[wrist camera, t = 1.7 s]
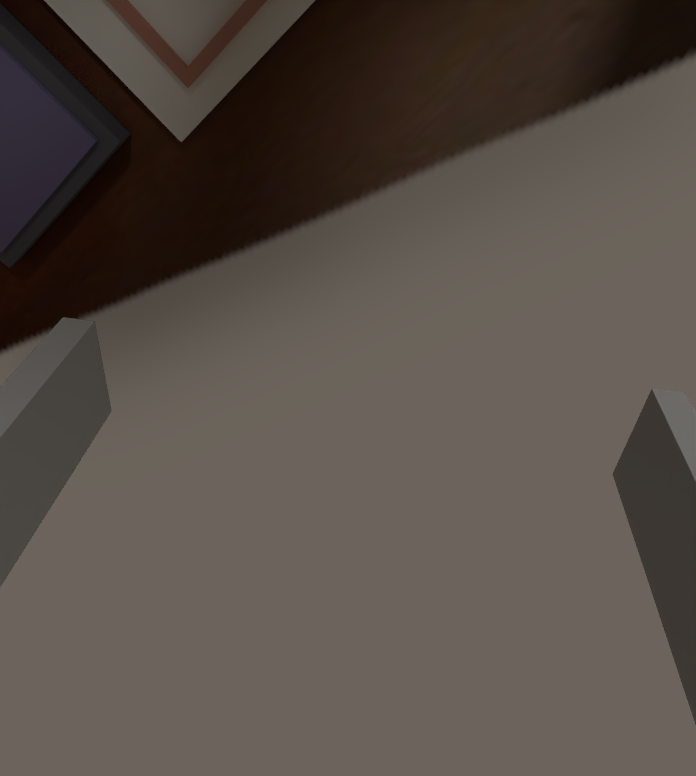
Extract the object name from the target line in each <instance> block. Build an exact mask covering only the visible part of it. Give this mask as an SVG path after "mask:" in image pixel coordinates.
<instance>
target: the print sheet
mask: <svg viewBox="0 0 696 776" xmlns="http://www.w3.org/2000/svg"><path fill="white" fill-rule="evenodd" d="M44 1H45V2H46V3H47V4H48V5H49V6H50V7H51V8H52V9H53V10H54V11H55V12H56V13H57V14H58V15H59V16H60V17H61V18H62V19H63V20H64V22H65V23H66V24H67V25H68V26H69V27H70V28H71V29H72V30H73V31H74V32H75V33H76V34H77V35H78V36H79V37H80V38H81V39H82V40H83V41H84V42H85V43H86V44H87V45H88V46H89V47H90V48H91V49H92V51H93V52H94V53H95V54H96V55H97V56H98V57H99V58H100V59H101V60H102V61H103V62H104V63H105V64H106V65H107V66H108V67H109V68H110V69H111V70H112V71H113V72H114V73H115V74H116V75H117V76H118V77H119V79H120V80H121V81H122V82H123V83H124V84H125V85H126V86H127V87H128V88H129V89H130V90H131V91H132V92H133V93H134V94H135V95H136V96H137V97H138V98H139V99H140V100H141V101H142V102H143V103H144V104H145V105H146V106H147V108H148V109H149V110H150V111H151V112H152V113H153V114H154V115H155V116H156V117H157V118H158V119H159V120H160V121H161V122H162V123H163V124H164V125H165V126H166V127H167V128H168V129H169V130H170V131H171V132H172V133H173V134H174V136H175V137H176V138H177V139H178V140H179V141H180V142H182V141H183V140H184V139H185V138H186V137H187V136H188V135H189V134H190V133H191V132H192V131H193V130H194V129H195V128H196V127H197V125H198V124H199V123H200V122H201V121H202V120H203V119H204V118H205V117H206V116H207V115H208V114H209V113H210V112H211V111H212V110H213V109H214V107H215V106H216V105H217V104H218V103H219V102H220V101H221V100H222V99H223V98H224V97H225V96H226V95H227V94H228V93H229V92H230V91H231V89H232V88H233V87H234V86H235V85H236V84H237V83H238V82H239V81H240V80H241V79H242V78H243V77H244V76H245V75H246V74H247V72H248V71H249V70H250V69H251V68H252V67H253V66H254V65H255V64H256V63H257V62H258V61H259V60H260V59H261V58H262V57H263V56H264V54H265V53H266V52H267V51H268V50H269V49H270V48H271V47H272V46H273V45H274V44H275V43H276V42H277V41H278V40H279V39H280V37H281V36H282V35H283V34H284V33H285V32H286V31H287V30H288V29H289V28H290V27H291V26H292V25H293V24H294V23H295V22H296V21H297V19H298V18H299V17H300V16H301V15H302V14H303V13H304V12H305V11H306V10H307V9H308V8H309V7H310V6H311V5H312V4H313V2H314V1H315V0H44Z"/></svg>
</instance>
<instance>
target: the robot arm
mask: <svg viewBox="0 0 696 776" xmlns="http://www.w3.org/2000/svg"><path fill="white" fill-rule="evenodd" d="M110 412H111V406H110V401H109V396H108V390H107V385H106V380H105V374H104V369H103V363H102V358H101V353H100V347H99V342H98V337H97V332H96V326H95V321H89V320H81V319H73V318H65V317H63V318H62V319H61V320H60V321H59V322H58V324H57V325H56V326H55V327H54V328H53V329H52V330H51V331H50V332H49V334H48V335H47V336H46V337H45V338H44V339H43V340H42V341H41V342H40V344H39V345H38V346H37V347H36V348H35V349H34V350H33V351H32V353H31V354H30V355H29V356H28V357H27V358H26V359H25V360H24V362H23V363H22V364H21V365H20V366H19V367H18V368H17V369H16V371H14V373H13V374H12V375H11V376H10V377H9V378H8V379H7V380H6V382H5V383H4V384H3V385H2V386H1V387H0V586H1V585H2V583H3V582H4V580H5V579H6V577H7V575H8V574H9V572H10V571H11V569H12V568H13V566H14V564H15V563H16V561H17V560H18V558H19V556H20V555H21V553H22V552H23V550H24V548H25V547H26V545H27V543H28V542H29V541H30V539H31V537H32V536H33V534H34V533H35V531H36V530H37V528H38V526H39V524H40V523H41V522H42V520H43V518H44V517H45V515H46V514H47V512H48V511H49V509H50V507H51V506H52V504H53V503H54V501H55V499H56V498H57V496H58V495H59V493H60V492H61V490H62V488H63V487H64V485H65V484H66V482H67V480H68V479H69V477H70V476H71V474H72V473H73V471H74V469H75V468H76V466H77V465H78V463H79V461H80V460H81V458H82V457H83V455H84V454H85V452H86V450H87V449H88V447H89V446H90V444H91V442H92V441H93V439H94V437H95V436H96V435H97V433H98V431H99V430H100V428H101V427H102V425H103V423H104V422H105V420H106V419H107V417H108V416H109V414H110ZM613 476H614V480H615V482H616V486H617V488H618V492H619V494H620V498H621V501H622V503H623V506H624V510H625V513H626V515H627V519H628V522H629V525H630V528H631V531H632V534H633V537H634V540H635V543H636V546H637V549H638V552H639V555H640V558H641V561H642V564H643V567H644V570H645V573H646V576H647V579H648V582H649V585H650V588H651V591H652V594H653V597H654V600H655V603H656V606H657V609H658V612H659V615H660V618H661V621H662V624H663V627H664V630H665V633H666V636H667V639H668V642H669V645H670V648H671V652H672V655H673V657H674V660H675V663H676V666H677V669H678V673H679V676H680V679H681V682H682V685H683V688H684V691H685V694H686V697H687V700H688V702H689V706H690V709H691V712H692V715H693V718H694V721H695V724H696V412H695V410H694V408H693V406H692V405H691V403H690V400H689V399H688V397H687V395H686V393H684V392H675V391H667V390H658V389H652V390H651V392H650V394H649V396H648V398H647V400H646V402H645V405H644V407H643V409H642V412H641V413H640V416H639V418H638V420H637V422H636V424H635V427H634V429H633V431H632V433H631V435H630V437H629V439H628V442H627V444H626V446H625V448H624V450H623V453H622V455H621V457H620V459H619V461H618V463H617V466H616V468H615V470H614V472H613Z"/></svg>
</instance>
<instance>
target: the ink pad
mask: <svg viewBox="0 0 696 776" xmlns="http://www.w3.org/2000/svg"><path fill="white" fill-rule="evenodd" d="M130 135H131V134H130V133H129V132H128V131H127V130H126V129H125V128H124V127H123V126H122V125H121V124H120V123H119V122H118V121H117V120H116V119H115V118H114V117H113V116H112V115H111V114H110V113H109V112H108V111H107V110H106V109H105V108H104V107H103V106H102V105H101V104H100V103H99V102H98V101H97V100H96V99H95V98H94V97H93V96H92V95H91V94H90V93H89V92H88V91H87V90H86V89H85V88H84V87H83V86H82V85H81V84H80V83H79V82H78V81H77V80H76V79H75V78H74V77H73V76H72V75H71V74H70V73H69V72H68V71H67V70H66V69H65V68H64V67H63V66H62V65H61V64H60V63H59V62H58V61H57V60H56V59H55V58H54V57H53V56H52V55H51V54H50V53H49V52H48V51H47V50H46V49H45V48H44V46H43V45H42V44H41V43H40V42H39V41H38V40H37V39H36V38H35V37H34V36H33V35H32V34H31V33H30V32H29V31H28V30H27V29H26V28H25V27H24V26H23V25H22V24H21V23H20V22H19V21H18V20H17V19H16V18H15V17H14V16H13V15H12V14H11V13H10V12H9V11H8V10H7V9H6V8H5V7H4V6H3V5H2V4H1V3H0V261H1V262H2V263H4V264H5V265H6V266H7V267H8V268H11V267H12V266H13V265H14V264H15V263H17V262H18V261H19V260H20V259H21V258H22V257H23V256H24V255H25V254H26V253H27V252H28V250H29V249H30V248H31V247H32V246H33V245H34V244H35V243H36V241H37V240H38V239H39V238H40V237H41V236H42V235H43V233H44V232H45V231H46V230H47V229H48V228H49V227H50V225H51V224H52V223H53V222H54V221H55V220H56V219H57V218H58V216H59V215H60V214H61V213H62V212H63V211H64V210H65V208H66V207H67V206H68V205H69V204H70V203H71V202H72V201H73V199H74V198H75V197H76V196H77V195H78V194H79V193H80V191H81V190H82V189H83V188H84V187H85V186H86V185H87V184H88V182H89V181H90V180H91V179H92V178H93V177H94V176H95V174H96V173H97V172H98V171H99V170H100V169H101V168H102V166H103V165H104V164H105V163H106V162H107V161H108V160H109V159H110V157H111V156H112V155H113V154H114V153H115V152H116V151H117V149H118V148H119V147H120V146H121V145H122V144H123V143H124V142H125V140H126V139H127V138H128V137H129V136H130Z"/></svg>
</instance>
